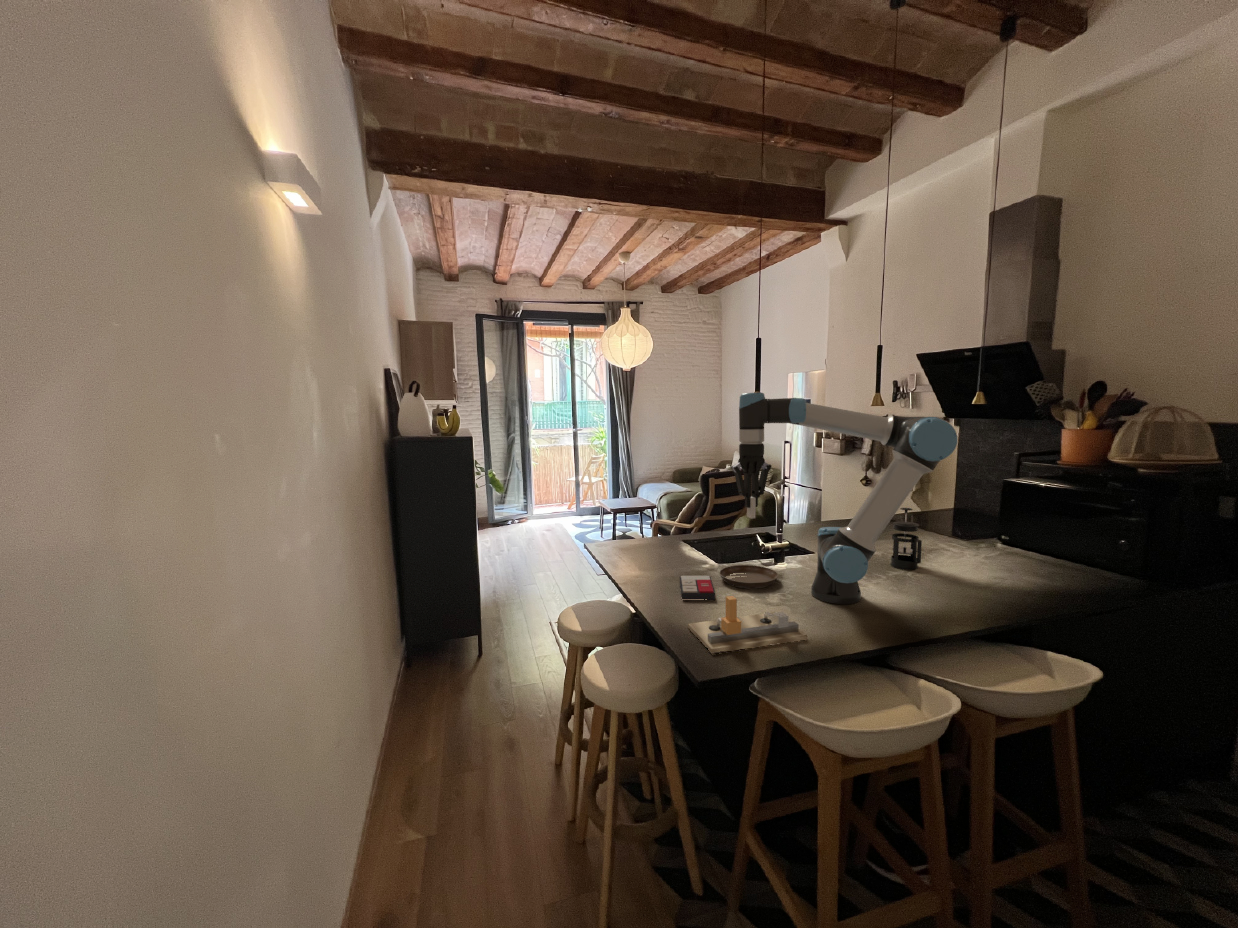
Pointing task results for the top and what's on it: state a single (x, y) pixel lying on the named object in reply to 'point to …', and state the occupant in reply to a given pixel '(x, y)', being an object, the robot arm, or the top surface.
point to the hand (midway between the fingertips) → (751, 517)
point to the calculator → (697, 587)
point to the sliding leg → (730, 617)
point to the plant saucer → (749, 576)
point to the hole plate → (746, 622)
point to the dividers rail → (758, 629)
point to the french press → (904, 560)
